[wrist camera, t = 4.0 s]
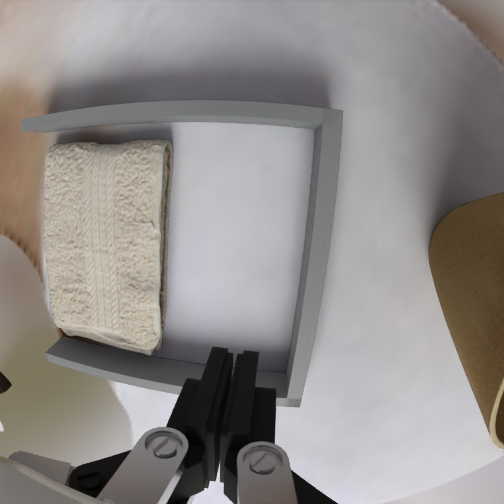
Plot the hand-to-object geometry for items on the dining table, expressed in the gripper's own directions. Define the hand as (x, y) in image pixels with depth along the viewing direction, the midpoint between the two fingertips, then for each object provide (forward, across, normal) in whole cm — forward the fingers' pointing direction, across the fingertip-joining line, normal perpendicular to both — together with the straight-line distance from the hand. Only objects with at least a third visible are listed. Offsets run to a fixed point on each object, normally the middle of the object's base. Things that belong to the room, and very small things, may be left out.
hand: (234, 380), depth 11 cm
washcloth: (+14, +13, 0) cm, 19 cm away
